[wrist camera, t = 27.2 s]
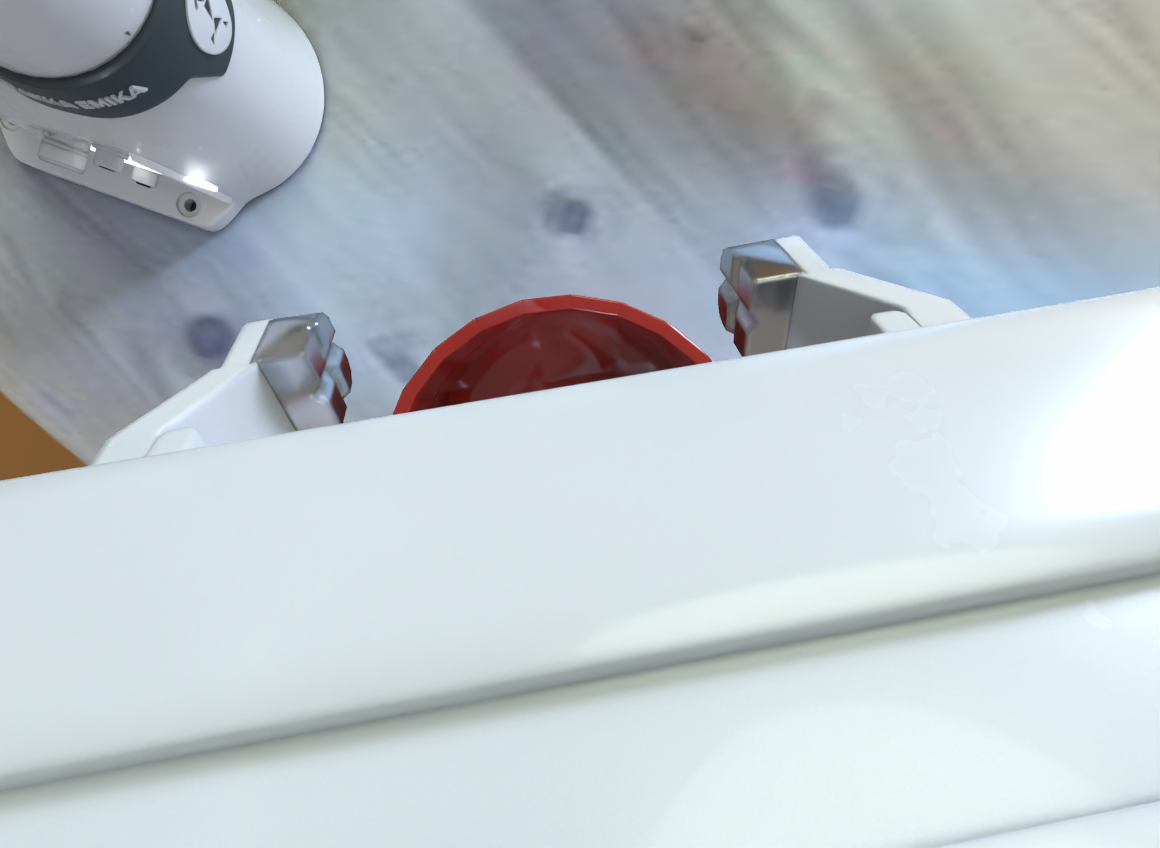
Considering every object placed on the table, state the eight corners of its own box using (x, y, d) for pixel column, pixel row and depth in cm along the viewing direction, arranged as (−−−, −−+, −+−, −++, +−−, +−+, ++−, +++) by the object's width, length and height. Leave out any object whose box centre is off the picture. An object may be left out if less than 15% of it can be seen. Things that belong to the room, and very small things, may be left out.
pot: (408, 579, 45) (359, 638, 35) (445, 292, 43) (404, 268, 33) (690, 621, 45) (721, 691, 35) (739, 337, 43) (787, 327, 33)
